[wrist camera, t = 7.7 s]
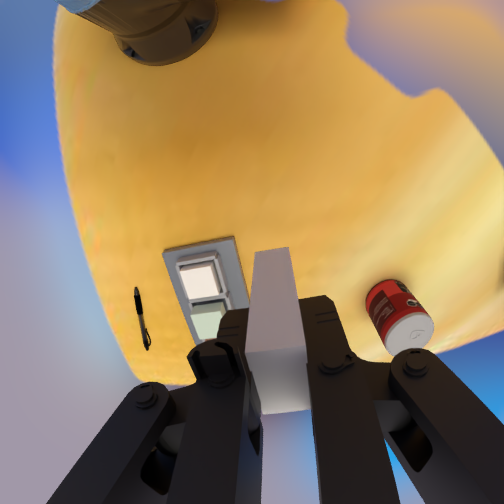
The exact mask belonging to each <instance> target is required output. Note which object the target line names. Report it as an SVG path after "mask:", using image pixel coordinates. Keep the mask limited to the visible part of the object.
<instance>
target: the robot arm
mask: <svg viewBox="0 0 504 504" xmlns="http://www.w3.org/2000/svg"><path fill="white" fill-rule="evenodd" d="M55 1H56V2H57V3H59V4H61V5H62V6H64V7H65V8H66V9H67V10H68V11H69V12H71V13H74V14H76V15H78V16H80V17H83V18H85V19H87V20H89V21H91V22H93V23H95V24H97V25H98V26H100V27H102V28H104V29H106V30H108V31H110V32H112V33H113V35H114V37H115V39H116V41H117V44H118V46H119V47H120V49H121V50H122V52H123V53H124V54H125V55H127V56H128V57H129V58H131V59H133V60H135V61H137V62H139V63H141V64H145V65H151V66H161V65H167V64H172V63H175V62H178V61H180V60H183V59H185V58H187V57H188V56H190V55H192V54H193V53H195V52H196V51H197V50H198V49H200V48H201V47H202V46H203V45H204V44H205V43H206V42H207V41H208V39H209V38H210V37H211V35H212V33H213V32H214V30H215V27H216V24H217V20H218V9H217V5H216V3H215V0H55ZM187 359H188V361H189V364H190V366H191V368H192V370H193V373H194V375H195V377H196V379H197V380H196V382H195V383H194V384H192V385H189V386H186V387H183V388H179V389H175V390H171V391H168V389H167V388H166V387H165V386H164V385H163V384H161V383H158V382H146V383H142V384H140V385H138V386H136V387H134V388H133V389H132V390H131V391H130V392H129V393H128V394H127V396H126V397H125V398H124V400H123V401H122V402H121V404H120V405H119V406H118V408H117V409H116V410H115V411H114V413H113V414H112V416H111V417H110V418H109V419H108V421H107V422H106V423H105V425H104V426H103V427H102V429H101V430H100V432H99V433H98V434H97V435H96V437H95V438H94V439H93V441H92V442H91V444H90V445H89V446H88V448H87V449H86V450H85V451H84V453H83V454H82V455H81V457H80V458H79V459H78V461H77V462H76V464H75V465H74V466H73V468H72V469H71V470H70V472H69V473H68V474H67V476H66V477H65V478H64V480H63V481H62V483H61V484H60V485H59V487H58V488H57V489H56V491H55V492H54V494H53V495H52V497H51V498H50V499H49V500H48V502H47V503H46V504H261V486H262V484H261V483H262V454H263V426H262V423H261V419H260V417H261V409H262V413H263V414H274V413H284V412H292V411H300V410H307V409H311V413H312V425H313V436H314V443H315V453H316V464H317V475H318V487H319V500H320V504H400V500H399V495H398V491H397V486H396V482H395V478H394V474H393V470H392V466H391V462H390V459H389V455H388V451H387V447H386V444H385V440H386V442H387V443H388V445H389V446H390V448H391V449H392V451H393V452H394V454H395V456H396V457H397V459H398V461H399V462H400V464H401V465H402V467H403V469H404V470H405V472H406V473H407V475H408V476H409V478H410V480H411V481H412V483H413V484H414V486H415V488H416V489H417V491H418V492H419V494H420V496H421V497H422V498H423V500H424V502H425V504H504V425H503V424H502V423H501V421H500V420H499V419H498V418H497V417H496V416H495V415H494V414H493V413H492V412H491V411H490V410H489V409H488V407H486V405H485V404H484V403H483V402H482V401H481V400H480V399H479V398H478V397H477V396H476V395H475V394H474V393H473V392H472V391H471V390H470V389H469V388H468V387H467V386H466V385H465V384H464V383H463V382H462V381H461V380H460V379H459V378H458V377H457V376H456V375H455V374H454V373H453V372H452V371H451V370H450V369H449V368H448V367H447V366H446V365H445V364H444V363H443V362H442V361H441V360H440V359H439V358H438V357H437V356H436V355H435V354H433V353H432V352H430V351H429V350H425V349H422V348H409V349H406V350H403V351H401V352H399V353H398V354H397V355H395V357H394V358H393V360H392V362H391V363H384V362H369V361H366V360H362V359H360V358H359V357H357V356H356V354H355V353H354V352H352V351H351V349H350V347H349V344H348V341H347V338H346V335H345V332H344V330H343V327H342V324H341V321H340V319H339V316H338V313H337V310H336V307H335V305H334V302H333V301H332V300H331V299H329V298H328V297H327V296H326V295H322V296H316V297H310V298H304V299H298V296H297V290H296V285H295V279H294V274H293V268H292V263H291V258H290V253H289V247H284V248H278V249H272V250H265V251H259V252H255V258H254V268H253V277H252V287H251V297H250V307H249V308H242V309H234V310H228V311H227V312H226V313H225V314H224V316H223V317H222V318H221V319H220V323H219V328H218V332H217V338H216V339H212V340H207V341H205V342H203V343H200V344H198V345H197V346H196V347H194V348H193V349H192V350H191V351H190V352H189V354H188V356H187ZM384 439H385V440H384Z"/></svg>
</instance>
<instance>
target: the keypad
mask: <svg viewBox="0 0 504 504" xmlns="http://www.w3.org/2000/svg"><path fill="white" fill-rule="evenodd" d="M162 255H163V258H164V261H165V264H166V267H167V270H168V273H169V276H170V279H171V282H172V284H173V287H174V290H175V293H176V296H177V298H178V301H179V304H180V306H181V309H182V312H183V314H184V317H185V319H186V322H187V324H188V327H189V329H190V332H191V334H192V337H193V339H194V342H195V344H196V346H197V345H198V344H200V343H203V342H205V340H206V339H199V337H198V334H197V332H196V329H195V326H194V324H193V321H192V319H191V316H190V314H191V312H192V310H193V307H194V306H197V305H204V304H211V303H218V302H223V304H224V307H225V311H226V312H227V311H228V310H234V309H242V308H249V307H250V298H249V294H248V291H247V287H246V283H245V279H244V275H243V271H242V267H241V263H240V259H239V255H238V251H237V247H236V243H235V238H234V236H232V237H227V238H222V239H216V240H211V241H206V242H201V243H196V244H191V245H186V246H181V247H177V248H172V249H167V250H164V252H163V253H162ZM213 259H214V263H215V266H216V270H217V273H218V277H219V280H220V284H221V289H220V293H219V295H216V296H209V297H202V298H195V299H189V298H188V295H187V292H186V289H185V286H184V283H183V280H182V277H181V274H180V270H181V268H182V267H183V265H186V264H191V263H197V262H202V261H207V260H213Z"/></svg>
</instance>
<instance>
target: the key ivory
mask: <svg viewBox="0 0 504 504" xmlns="http://www.w3.org/2000/svg"><path fill="white" fill-rule="evenodd" d="M180 274H181V277H182V280H183V283H184V286H185V289H186V292H187V295H188V298H189V299H195V298H202V297H209V296H216V295H219V293H220V289H221V284H220V280H219V277H218V273H217V270H216V266H215V263H214V259H213V260H207V261H202V262H197V263H191V264H186V265H183V267H182V268H181V270H180Z"/></svg>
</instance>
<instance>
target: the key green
mask: <svg viewBox="0 0 504 504" xmlns="http://www.w3.org/2000/svg"><path fill="white" fill-rule="evenodd" d="M225 313H226V311H225V307H224V304H223V302H218V303H211V304H204V305H197V306H194V307H193V310H192V312H191V314H190V316H191V319H192V321H193V324H194V326H195V329H196V332H197V334H198V337H199V339H210V338H217V332H218V328H219V323H220V319H221V318H222V317H223V316H224V314H225Z"/></svg>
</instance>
